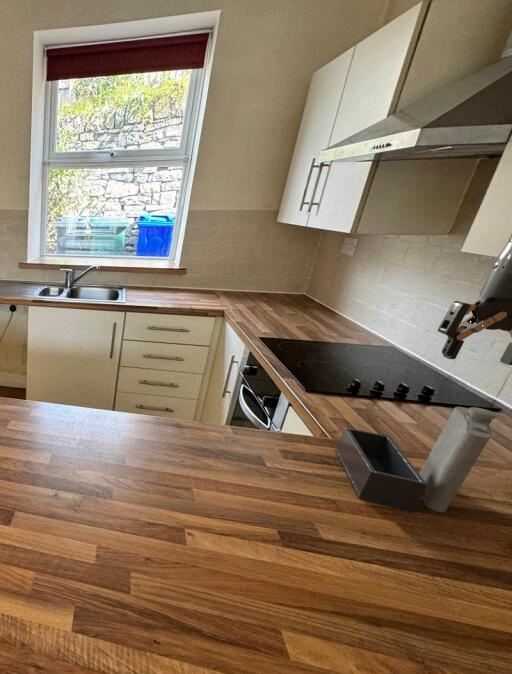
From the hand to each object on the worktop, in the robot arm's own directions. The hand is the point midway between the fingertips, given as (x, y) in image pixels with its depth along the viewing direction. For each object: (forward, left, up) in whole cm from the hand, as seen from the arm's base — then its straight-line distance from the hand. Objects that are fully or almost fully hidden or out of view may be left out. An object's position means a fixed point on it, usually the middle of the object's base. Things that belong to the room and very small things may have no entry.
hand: (477, 360), depth 74 cm
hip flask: (-5, -2, -30) cm, 31 cm away
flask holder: (+6, -2, -30) cm, 31 cm away
